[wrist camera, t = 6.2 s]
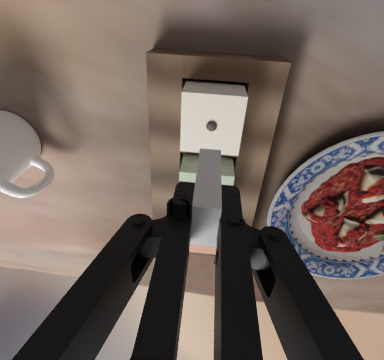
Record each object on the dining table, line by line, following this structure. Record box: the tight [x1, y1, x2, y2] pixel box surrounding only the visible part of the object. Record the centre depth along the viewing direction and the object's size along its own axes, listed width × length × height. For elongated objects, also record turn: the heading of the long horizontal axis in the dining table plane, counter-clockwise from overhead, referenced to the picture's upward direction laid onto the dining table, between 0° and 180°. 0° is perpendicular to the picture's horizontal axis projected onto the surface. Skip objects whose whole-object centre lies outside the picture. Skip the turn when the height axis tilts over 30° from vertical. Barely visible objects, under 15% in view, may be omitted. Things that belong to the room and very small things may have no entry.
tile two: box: [179, 153, 235, 186], centre depth 32 cm, size 6×6×4 cm
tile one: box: [180, 81, 248, 156], centre depth 27 cm, size 6×6×4 cm
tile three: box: [189, 244, 217, 255], centre depth 38 cm, size 6×6×4 cm
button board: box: [146, 49, 291, 256], centre depth 34 cm, size 28×14×3 cm, turn 177°
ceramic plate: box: [267, 131, 384, 279], centre depth 36 cm, size 26×26×3 cm
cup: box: [0, 110, 54, 198], centre depth 32 cm, size 8×12×10 cm
